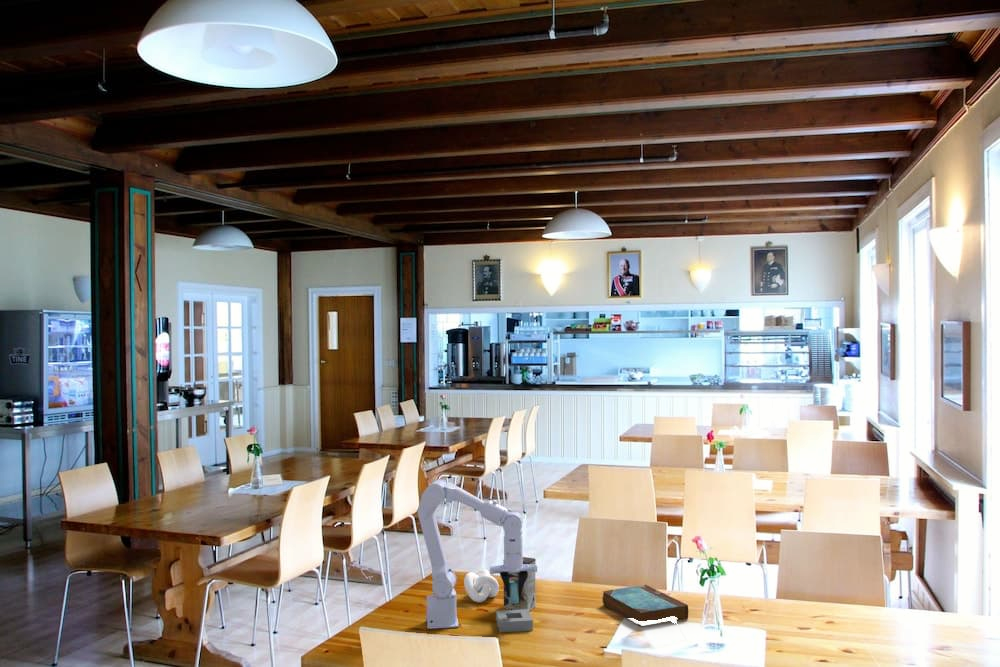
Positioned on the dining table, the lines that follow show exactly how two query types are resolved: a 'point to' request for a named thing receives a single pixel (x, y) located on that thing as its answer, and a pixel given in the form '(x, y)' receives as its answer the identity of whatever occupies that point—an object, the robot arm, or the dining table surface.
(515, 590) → the peg
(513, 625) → the socket board
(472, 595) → the white knot sculpture
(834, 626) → the dining table surface
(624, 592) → the book
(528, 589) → the coffee box
